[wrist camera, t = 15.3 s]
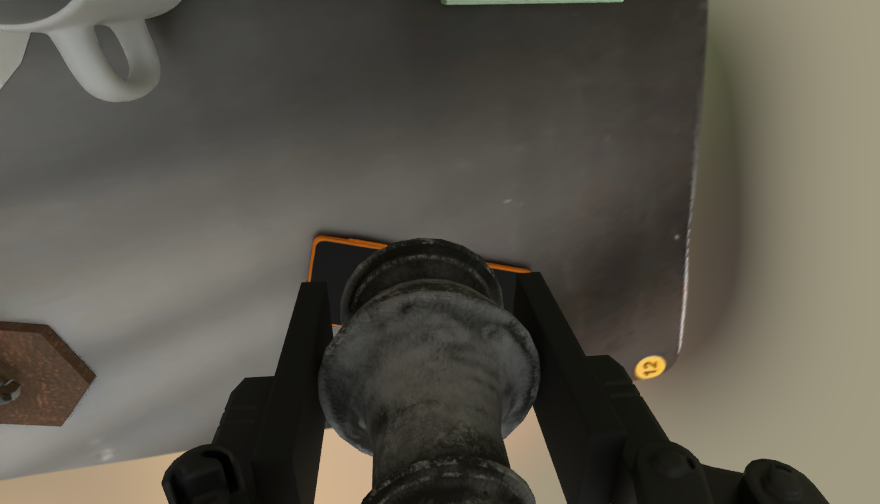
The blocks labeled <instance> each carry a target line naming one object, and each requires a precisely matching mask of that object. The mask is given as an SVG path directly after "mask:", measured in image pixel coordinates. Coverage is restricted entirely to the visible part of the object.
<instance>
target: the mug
mask: <svg viewBox="0 0 880 504" xmlns="http://www.w3.org/2000/svg"><path fill="white" fill-rule="evenodd" d="M181 1H182V0H0V30H1V31H8V32H40V33H45V34H47V35H48V36H49V37H50V38H51V39H52V41H53V42H54V44H55V45H56V47H57V49H58V50H59V52H60V54H61V56H62V57H63V59H64V61H65V62H66V64H67V66H68V67H69V69H70V70H71V72H72V74H73V75H74V77H75V78H76V79H77V80H78V82H79V83H80V84H81V86H82V87H83V88H84V89H85V90H86V91H87V92H88V93H90V94H91V95H93V96H94V97H96V98H98V99H101V100H104V101H110V102H125V101H132V100H135V99H138V98H141V97H143V96H145V95H147V94H148V93H150V92H151V91H152V90H153V89H154V88H155V87H156V86H157V84H158V82H159V79H160V75H161V67H160V61H159V58H158V54H157V51H156V49H155V46H154V44H153V41H152V39H151V36H150V34H149V31H148V29H147V27H146V24H145V19H149V18H152V17H156V16H159V15H162V14H164V13H166V12H168V11H170V10H171V9H172V8H174V7H175V6H177V5H178V4H179V3H180V2H181ZM95 25H105V26H108V27H109V28H111V30H112V31H113V32H114V34H115V35H116V37H117V38H118V40H119V42H120V44H121V46H122V48H123V50H124V52H125V55H126V57H127V60H128V64H129V68H130V72H129V76H128V77H127V79H126V80H124V79H122V78H120V77H119V76H118V75H117V74H116V73H115V72H114V71H113V70H112V68H111V67H110V65H109V63H108V62H107V60H106V58H105V56H104V54H103V52H102V50H101V48H100V45H99V43H98V40H97V37H96V34H95V29H94V27H95Z"/></svg>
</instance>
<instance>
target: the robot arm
mask: <svg viewBox="0 0 880 504" xmlns="http://www.w3.org/2000/svg"><path fill="white" fill-rule="evenodd" d="M513 316H514V317H515V318H516V319H517V320H518V321H519V322H520V323H521V324H522V325H523V326H524V327H525V328H526V330H527V331H528V332H529V334H530V336H531V338H532V340H533V342H534V345H535V347H536V349H537V351H538V353H539V356H540V368H541V381H540V385H539V389H538V393H537V397H536V400H535V402H534V404H533V408H534V411H535V413H536V416H537V419H538V422H539V425H540V427H541V430H542V433H543V436H544V439H545V442H546V445H547V448H548V450H549V453H550V456H551V459H552V462H553V464H554V467H555V470H556V473H557V476H558V479H559V481H560V484H561V487H562V490H563V493H564V496H565V499H566V501H567V504H829V503H828V501H827V500H826V499H825V498H824V496H823V495H822V494H821V492H820V491H819V490H818V489H817V488H816V486H815V485H814V484H813V483H812V482H811V481H810V480H809V479H808V478H807V477H806V476H805V475H804V474H802V473H801V472H799V471H798V470H796V469H794V468H793V467H791V466H789V465H787V464H784V463H781V462H779V461H776V460H770V459H758V460H754V461H751V462H750V463H749V464H748V465H747V466H746V468H745V470H744V473H740V472H735V471H730V470H725V469H720V468H715V467H710V466H707V465H703V464H701V463H700V462H699V460H698V459H697V458H696V457H695V456H694V455H693V454H692V453H691V452H690V451H689V450H687V449H686V448H684V447H682V446H680V445H678V444H677V443H674V442H671V441H670V440H669V439H668V437H667V436H666V434H665V432H664V431H663V429H662V428H661V426H660V425H659V423H658V421H657V420H656V418H655V417H654V415H653V414H652V412H651V410H650V409H649V407H648V406H647V404H646V402H645V401H644V399H643V398H642V397H641V396H640V393H639V391H638V390H637V388H636V386H635V385H634V384H633V383H632V380H631V378H630V377H629V375H628V374H627V372H626V370H625V369H624V367H623V366H621V365H620V364H619V363H618V362H616V361H615V360H614V359H613V358H611V357H610V356H609V355H599V356H585V354H584V352H583V350H582V348H581V346H580V345H579V343H578V341H577V339H576V337H575V335H574V334H573V332H572V330H571V328H570V326H569V324H568V323H567V321H566V319H565V317H564V315H563V313H562V312H561V310H560V308H559V306H558V304H557V302H556V301H555V299H554V297H553V295H552V293H551V291H550V290H549V288H548V286H547V284H546V282H545V280H544V279H543V277H542V275H541V273H540V272H527V273H516V284H515V295H514V307H513ZM332 340H333V330H332V322H331V313H330V305H329V296H328V287H327V281H324V282H302V283H301V286H300V290H299V293H298V296H297V300H296V303H295V307H294V310H293V314H292V317H291V321H290V324H289V328H288V331H287V335H286V338H285V341H284V345H283V348H282V352H281V355H280V359H279V362H278V366H277V369H276V373H275V376H267V377H251V378H244V379H243V381H242V382H241V383H240V384H239V385H238V386H237V387H236V388H235V389H234V390H233V391H232V392H231V394H230V397H229V400H228V402H227V405H226V407H225V412H224V413H223V415H222V418H221V420H220V426H218V428H217V431H216V433H215V436H214V439H213V441H212V444H207V445H201V446H198V447H196V448H193V449H191V450H189V451H187V452H185V453H184V454H182V455H181V456H180V457H178V458H177V459H176V460H174V461H173V463H172V464H171V465H170V466H169V468H168V469H167V470H166V472H165V474H164V477H163V480H162V487H163V489H164V492H165V495H166V497H167V500H168V503H169V504H314V498H315V491H316V484H317V477H318V470H319V463H320V456H321V448H322V442H323V435H324V427H325V420H326V418H325V416H324V413H323V410H322V408H321V405H320V401H319V393H318V370H319V367H320V364H321V362H322V359H323V356H324V353H325V350H326V348H327V346H328V345H329V344H330V342H331V341H332Z"/></svg>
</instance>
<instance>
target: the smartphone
mask: <svg viewBox="0 0 880 504" xmlns="http://www.w3.org/2000/svg"><path fill="white" fill-rule="evenodd" d="M385 247H387V244H382V243H376V242H370V241H364V240H358V239H352V238H349V239H344V238H338V237H332V236H326V235H320V236H317V237H316V238H315V239H314V241H313V246H312V253H311V260H310V268H309V275H308V282H324V281H327V287H328V296H329V305H330V313H331V322H332V325H333V326H341V327H342V324H341V321H340V301H341V297H342V294H343V291H344V288H345V285H346V282H347V281H348V279H349V278H350V276H351V275H352V274H353V272H354V271H355V269H356V268H357V267H358V265H359V264H361V263H362V262H363V261H364V260H366V259H367V258H368V257H369V256H371V255H372V254H373V253H374V252H376V251H378V250H380V249H382V248H385ZM486 264H487V265H488V266H489V267H490V268H491V269H492V270H493V272H494V274H495V276H496V278H497V280H498V282H499V285H500V287H501V289H502V296H503V305H504V309H505V310H506V311H508V312H510V313H512V314H513V307H514V295H515V284H516V273H527V272H531V271H530V270H528V269H524V268H518V267H512V266H506V265H500V264H494V263H488V262H486Z"/></svg>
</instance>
